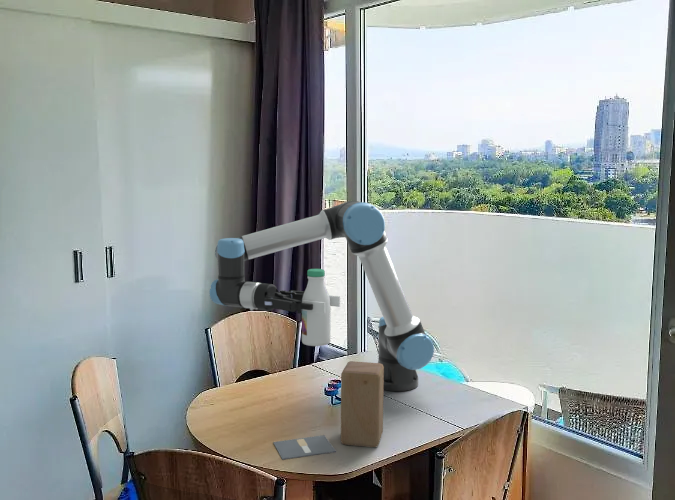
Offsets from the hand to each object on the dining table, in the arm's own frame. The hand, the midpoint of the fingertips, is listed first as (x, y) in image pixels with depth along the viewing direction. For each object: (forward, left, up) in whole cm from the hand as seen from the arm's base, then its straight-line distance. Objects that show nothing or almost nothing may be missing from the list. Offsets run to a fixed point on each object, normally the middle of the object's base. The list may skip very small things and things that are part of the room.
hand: (332, 304), depth 167 cm
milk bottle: (+3, -3, -11) cm, 12 cm away
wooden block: (-7, +6, -36) cm, 37 cm away
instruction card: (+9, +6, -36) cm, 37 cm away
